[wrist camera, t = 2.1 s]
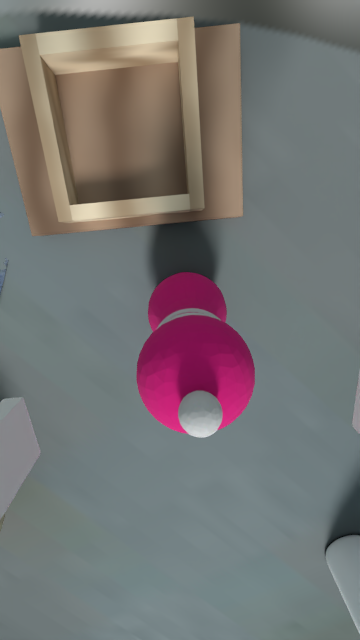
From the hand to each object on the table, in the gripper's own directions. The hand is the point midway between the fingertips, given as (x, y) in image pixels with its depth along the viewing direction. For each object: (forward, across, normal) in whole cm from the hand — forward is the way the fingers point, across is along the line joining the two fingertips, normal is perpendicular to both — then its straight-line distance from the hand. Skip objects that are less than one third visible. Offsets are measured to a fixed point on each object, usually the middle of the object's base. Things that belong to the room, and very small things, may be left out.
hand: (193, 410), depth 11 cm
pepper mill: (+19, 0, 0) cm, 19 cm away
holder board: (+19, +4, -15) cm, 25 cm away
